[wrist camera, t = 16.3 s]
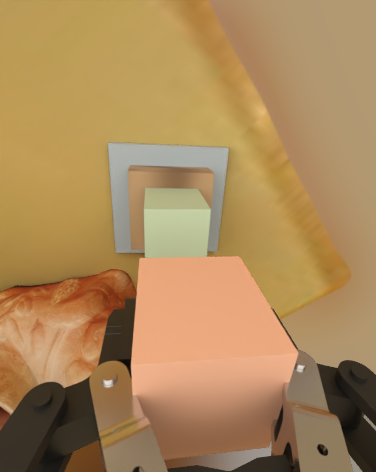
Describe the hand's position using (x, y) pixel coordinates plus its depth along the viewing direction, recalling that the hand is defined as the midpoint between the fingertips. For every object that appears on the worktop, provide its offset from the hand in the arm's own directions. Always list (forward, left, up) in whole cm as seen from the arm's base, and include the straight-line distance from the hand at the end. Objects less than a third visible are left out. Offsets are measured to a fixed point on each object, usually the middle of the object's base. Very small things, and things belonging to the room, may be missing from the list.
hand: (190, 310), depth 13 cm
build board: (0, 0, -18) cm, 18 cm away
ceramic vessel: (-12, -16, -19) cm, 27 cm away
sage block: (0, 0, -14) cm, 14 cm away
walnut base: (0, 0, -17) cm, 17 cm away
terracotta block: (0, 0, -1) cm, 1 cm away
